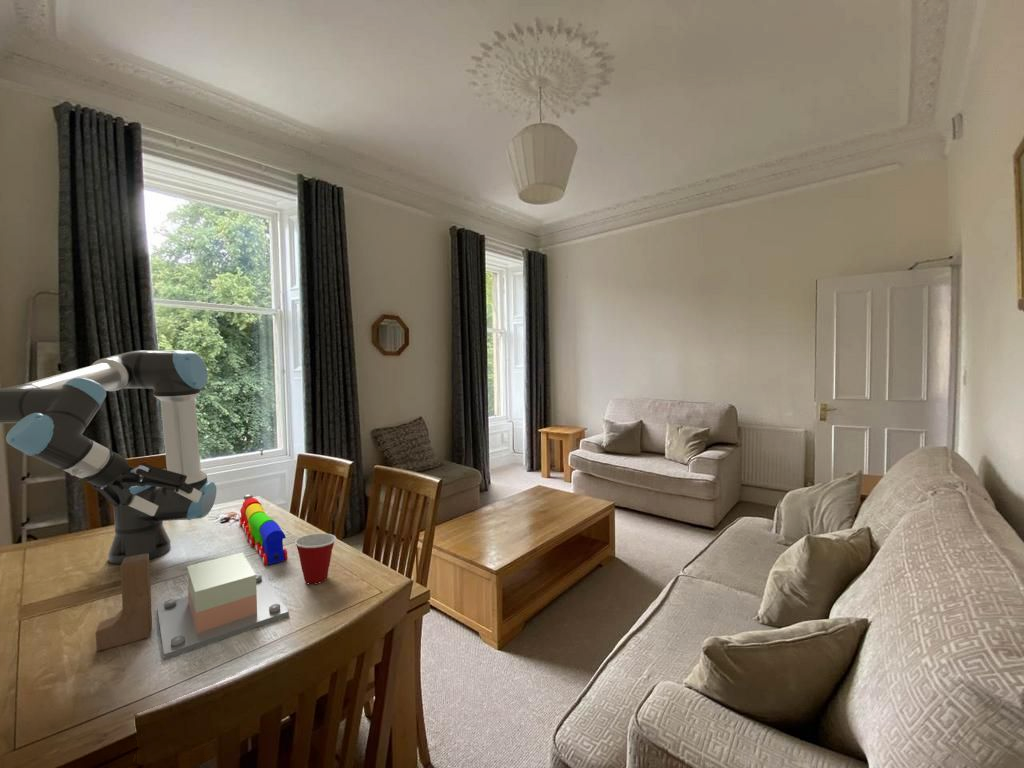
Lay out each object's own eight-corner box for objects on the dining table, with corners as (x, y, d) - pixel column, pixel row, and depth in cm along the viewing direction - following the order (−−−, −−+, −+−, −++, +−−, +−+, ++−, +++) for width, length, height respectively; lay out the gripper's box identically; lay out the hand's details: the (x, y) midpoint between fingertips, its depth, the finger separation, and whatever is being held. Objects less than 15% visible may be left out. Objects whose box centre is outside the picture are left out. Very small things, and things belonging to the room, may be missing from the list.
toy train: (234, 525, 166) (233, 495, 165) (257, 520, 171) (256, 491, 170) (265, 569, 132) (263, 532, 132) (291, 561, 137) (290, 525, 137)
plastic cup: (345, 575, 129) (344, 534, 128) (314, 593, 119) (313, 549, 118) (318, 567, 133) (317, 528, 132) (286, 583, 123) (285, 541, 123)
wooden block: (96, 652, 95) (91, 570, 93) (100, 641, 98) (96, 562, 97) (150, 637, 100) (146, 559, 99) (152, 627, 103) (149, 552, 102)
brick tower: (157, 609, 110) (155, 567, 110) (264, 578, 126) (263, 541, 126) (164, 659, 92) (162, 609, 92) (288, 616, 108) (287, 573, 108)
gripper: (42, 493, 99) (130, 530, 114) (134, 463, 95) (213, 505, 110) (61, 465, 104) (143, 503, 119) (149, 435, 100) (222, 478, 115)
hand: (177, 504), depth 115 cm, fingers open, 13 cm apart
